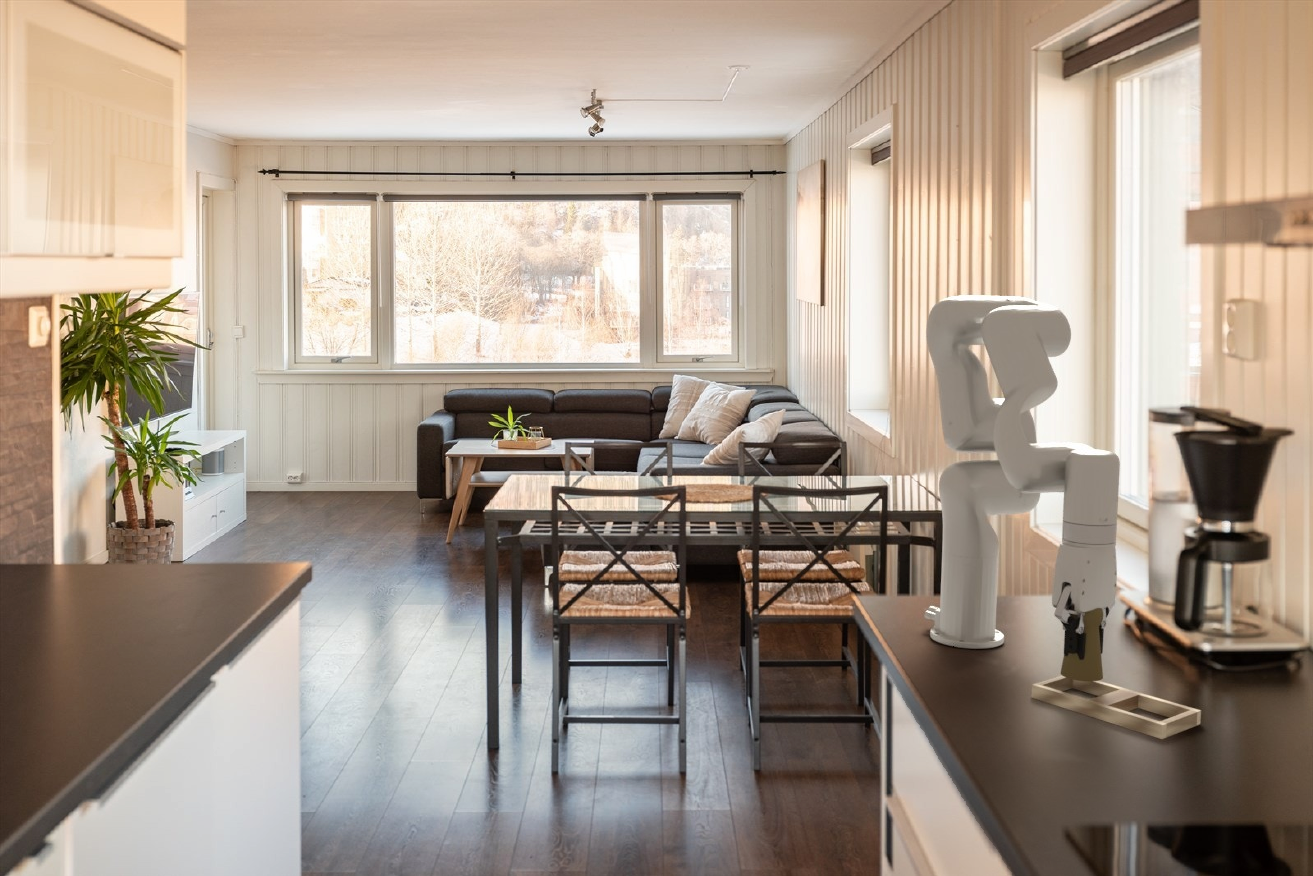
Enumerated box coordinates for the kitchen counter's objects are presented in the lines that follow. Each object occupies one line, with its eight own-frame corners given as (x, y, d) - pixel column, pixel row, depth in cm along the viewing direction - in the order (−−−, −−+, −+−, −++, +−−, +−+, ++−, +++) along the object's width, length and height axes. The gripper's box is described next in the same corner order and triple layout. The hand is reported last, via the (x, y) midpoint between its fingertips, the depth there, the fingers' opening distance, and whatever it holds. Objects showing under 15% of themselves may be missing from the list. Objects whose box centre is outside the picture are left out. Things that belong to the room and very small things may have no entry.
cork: (1106, 682, 176) (1110, 609, 174) (1063, 679, 177) (1066, 606, 176) (1099, 670, 182) (1103, 599, 180) (1057, 667, 183) (1061, 597, 182)
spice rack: (1031, 697, 181) (1031, 684, 181) (1070, 685, 187) (1071, 672, 187) (1161, 739, 164) (1162, 725, 164) (1200, 724, 170) (1201, 710, 170)
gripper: (1098, 524, 185) (1092, 640, 187) (1032, 535, 175) (1027, 658, 177) (1143, 531, 179) (1137, 651, 181) (1078, 544, 169) (1072, 671, 171)
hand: (1083, 653), depth 179 cm, fingers closed on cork, 3 cm apart
